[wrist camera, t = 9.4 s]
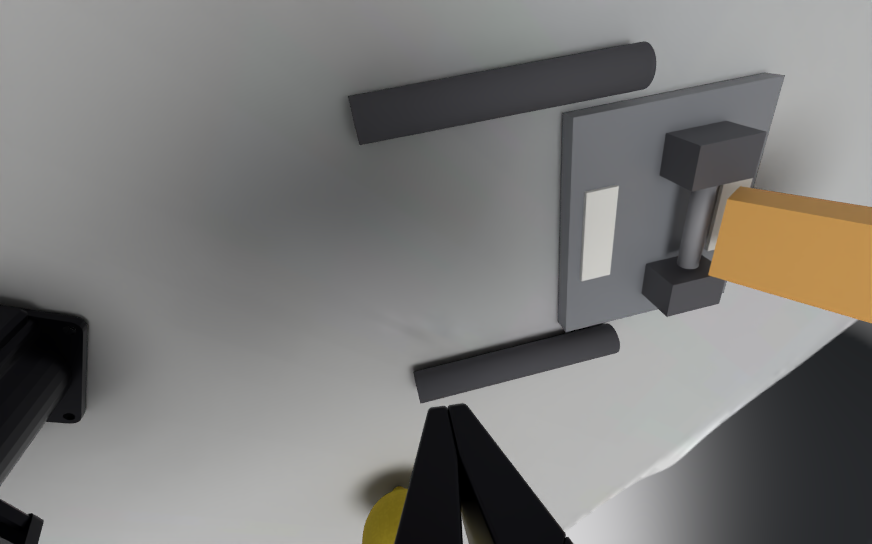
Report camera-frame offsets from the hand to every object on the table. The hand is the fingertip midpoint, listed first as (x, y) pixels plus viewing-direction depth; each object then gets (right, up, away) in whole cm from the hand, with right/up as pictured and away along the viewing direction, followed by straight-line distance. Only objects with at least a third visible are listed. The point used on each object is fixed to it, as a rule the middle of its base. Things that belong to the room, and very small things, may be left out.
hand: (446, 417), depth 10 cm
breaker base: (+12, +7, +13) cm, 19 cm away
